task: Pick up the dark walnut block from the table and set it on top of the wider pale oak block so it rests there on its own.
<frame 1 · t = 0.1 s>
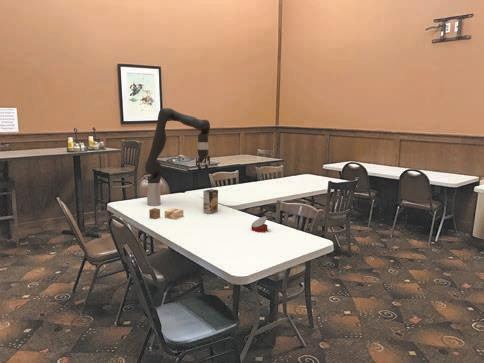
hand: (203, 171, 287), 29 cm above the table, tool pointing down, fingers open, 8 cm apart
oak block: (174, 217, 277), on the table
coffee box: (210, 212, 291), on the table
canned food: (259, 230, 250), on the table
walnut block: (154, 217, 275), on the table
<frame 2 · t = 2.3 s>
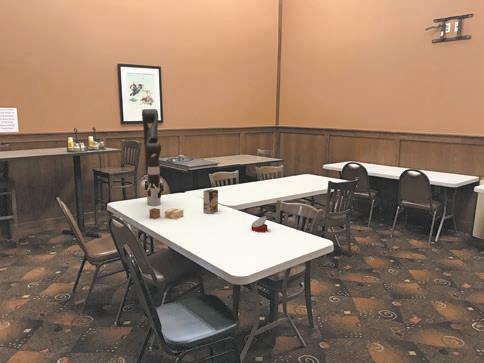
hand: (154, 197, 272), 14 cm above the table, tool pointing down, fingers open, 8 cm apart
nothing on the table moved.
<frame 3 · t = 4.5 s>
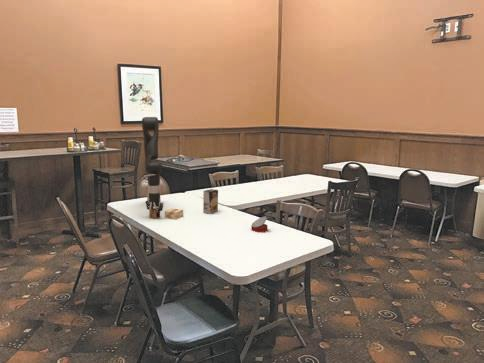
hand: (154, 216, 274), 1 cm above the table, tool pointing down, fingers closed on walnut block, 5 cm apart
walnut block: (154, 217, 275), on the table, touching gripper
everything else where it was.
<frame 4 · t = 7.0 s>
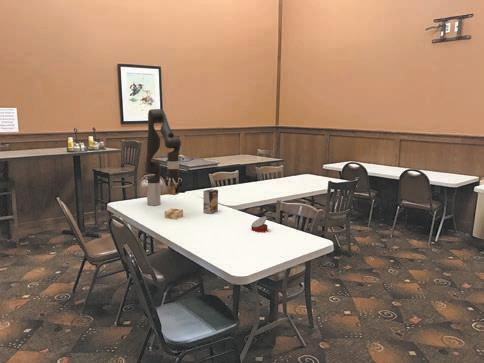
hand: (173, 192, 274), 17 cm above the table, tool pointing down, fingers closed on walnut block, 5 cm apart
walnut block: (173, 194, 274), point 16 cm above the table, touching gripper
everything else where it was.
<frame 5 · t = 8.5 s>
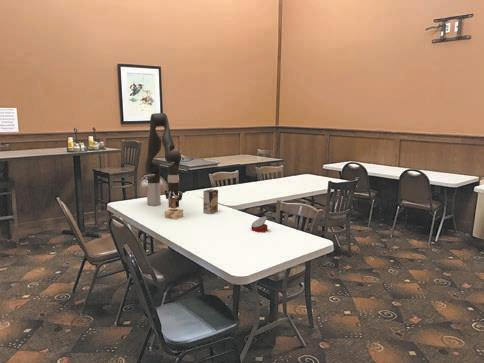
hand: (173, 205, 275), 8 cm above the table, tool pointing down, fingers closed on walnut block, 5 cm apart
walnut block: (173, 207, 275), point 7 cm above the table, touching gripper
everything else where it was.
when the fingers open (7 cm above the table, at t = 9.5 s): walnut block drops 1 cm, resting on oak block.
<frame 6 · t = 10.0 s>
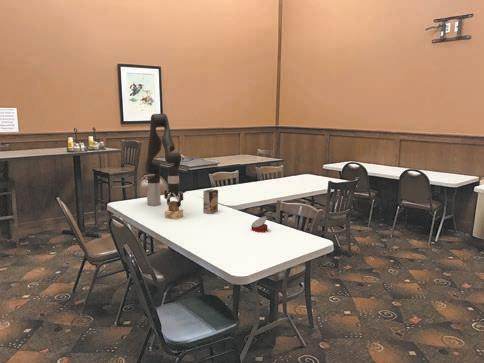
hand: (173, 205, 275), 8 cm above the table, tool pointing down, fingers open, 8 cm apart
oak block: (174, 217, 277), on the table, touching walnut block
walnut block: (173, 210, 276), point 5 cm above the table, touching oak block
everything else where it was.
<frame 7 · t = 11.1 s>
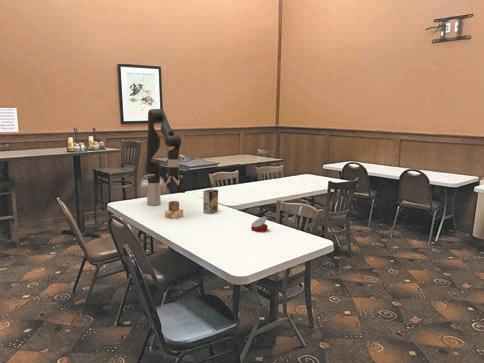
hand: (173, 189, 273), 19 cm above the table, tool pointing down, fingers open, 8 cm apart
nothing on the table moved.
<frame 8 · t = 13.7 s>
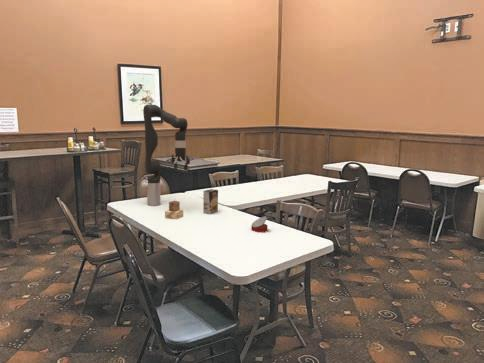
hand: (180, 169, 288), 30 cm above the table, tool pointing down, fingers open, 8 cm apart
nothing on the table moved.
at the end: walnut block inside the target area on the oak block (0.1 cm from its centre), point 5.0 cm above the oak block's base; walnut block tilted 0°; the gripper is holding nothing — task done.
